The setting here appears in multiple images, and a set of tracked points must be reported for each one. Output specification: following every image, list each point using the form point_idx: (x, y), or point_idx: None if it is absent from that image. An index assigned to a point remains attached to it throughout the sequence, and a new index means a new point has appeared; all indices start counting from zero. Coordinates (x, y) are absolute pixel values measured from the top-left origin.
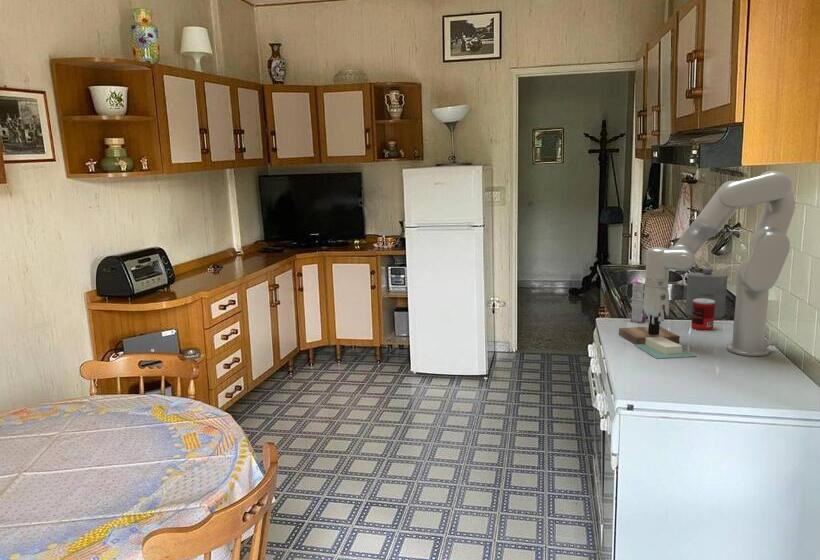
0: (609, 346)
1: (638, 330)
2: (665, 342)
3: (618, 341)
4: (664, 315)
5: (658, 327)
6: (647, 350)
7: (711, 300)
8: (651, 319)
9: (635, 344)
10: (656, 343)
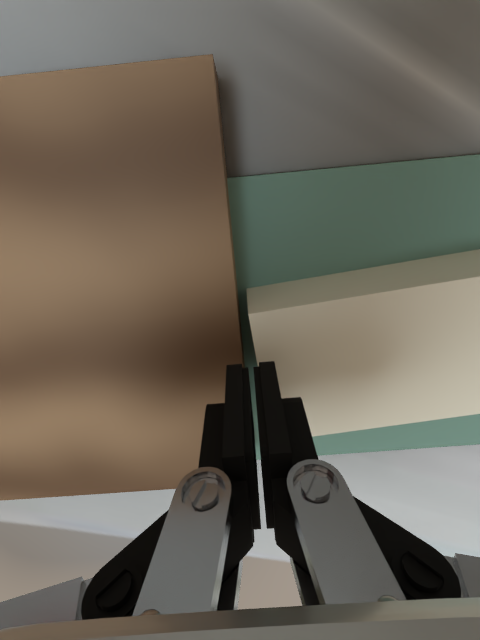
0: (261, 550)
1: (9, 408)
2: (449, 354)
3: (165, 498)
4: (429, 602)
5: (286, 422)
6: (400, 433)
7: None
8: (225, 574)
9: (257, 452)
10: (426, 415)
